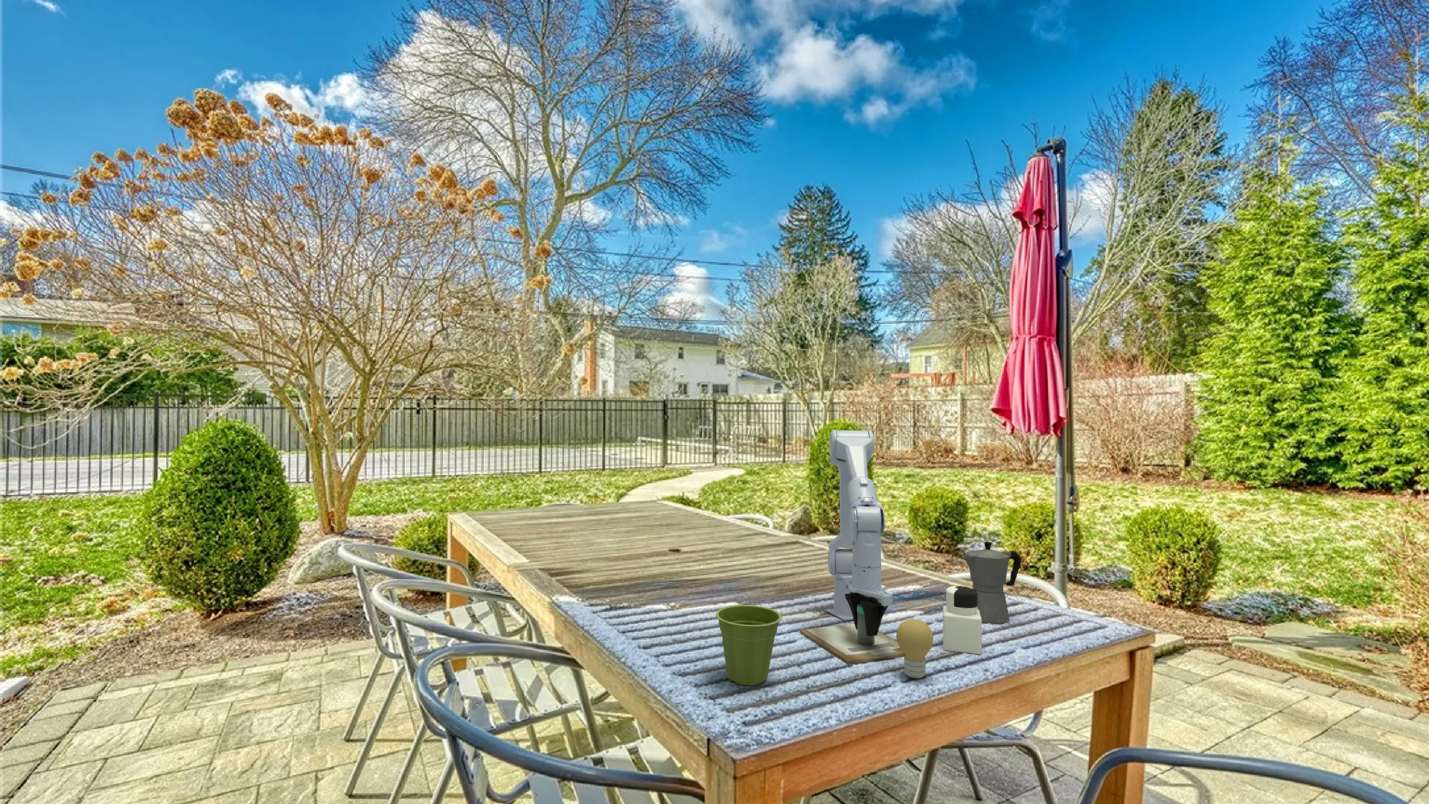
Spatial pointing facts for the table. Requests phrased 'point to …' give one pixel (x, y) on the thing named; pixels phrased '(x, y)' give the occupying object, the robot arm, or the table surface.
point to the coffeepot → (992, 581)
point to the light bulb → (914, 646)
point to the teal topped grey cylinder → (863, 629)
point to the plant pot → (748, 641)
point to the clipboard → (853, 644)
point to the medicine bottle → (962, 621)
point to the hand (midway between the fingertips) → (866, 632)
